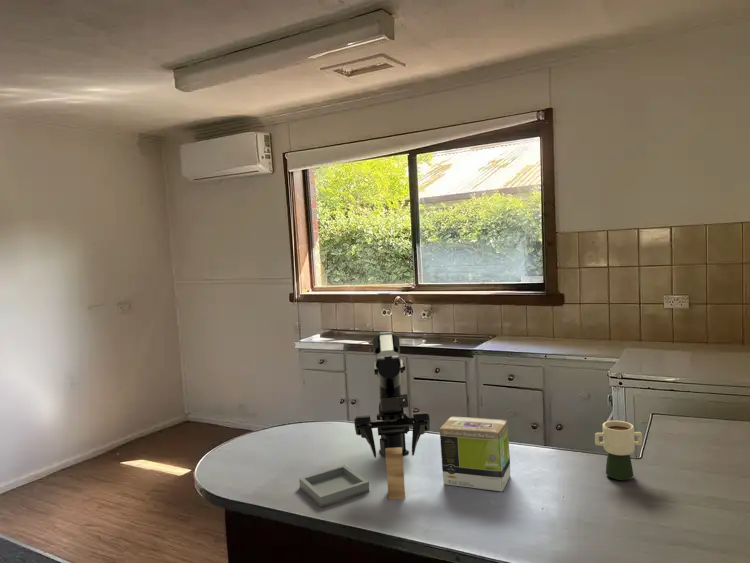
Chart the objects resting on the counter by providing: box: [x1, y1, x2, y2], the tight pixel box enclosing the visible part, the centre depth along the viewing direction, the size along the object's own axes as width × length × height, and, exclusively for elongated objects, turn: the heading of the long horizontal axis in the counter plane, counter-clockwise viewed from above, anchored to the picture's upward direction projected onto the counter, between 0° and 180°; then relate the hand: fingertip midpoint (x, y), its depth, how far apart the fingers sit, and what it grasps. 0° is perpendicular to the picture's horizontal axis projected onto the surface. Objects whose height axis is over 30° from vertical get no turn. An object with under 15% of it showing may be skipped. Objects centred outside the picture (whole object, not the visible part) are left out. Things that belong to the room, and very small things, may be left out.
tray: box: [299, 464, 370, 508], centre depth 145 cm, size 13×13×2 cm
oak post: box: [384, 447, 406, 500], centre depth 140 cm, size 4×4×11 cm
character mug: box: [594, 420, 643, 481], centre depth 141 cm, size 11×7×13 cm, turn 82°
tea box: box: [439, 415, 511, 492], centre depth 144 cm, size 15×10×15 cm, turn 65°
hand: (394, 456), depth 141 cm, fingers open, 9 cm apart
